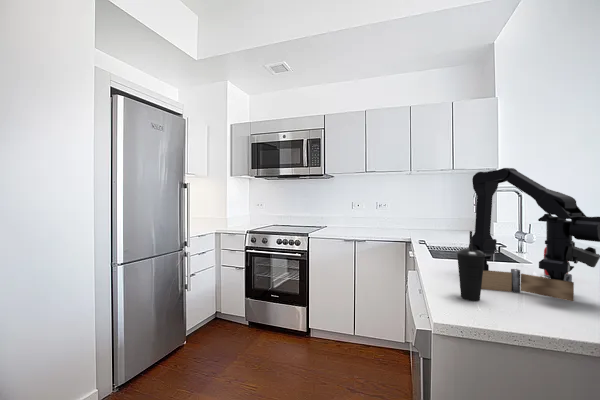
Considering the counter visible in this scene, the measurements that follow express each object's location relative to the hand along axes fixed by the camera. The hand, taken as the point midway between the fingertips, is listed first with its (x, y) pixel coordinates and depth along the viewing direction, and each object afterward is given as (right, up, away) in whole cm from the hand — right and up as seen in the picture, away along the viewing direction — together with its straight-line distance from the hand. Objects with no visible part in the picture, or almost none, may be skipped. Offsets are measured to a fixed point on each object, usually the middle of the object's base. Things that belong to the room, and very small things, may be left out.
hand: (559, 289), depth 86 cm
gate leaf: (-4, -2, 0) cm, 4 cm away
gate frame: (-6, -3, +6) cm, 9 cm away
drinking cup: (-27, -3, 0) cm, 27 cm away
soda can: (+20, -3, +24) cm, 31 cm away
